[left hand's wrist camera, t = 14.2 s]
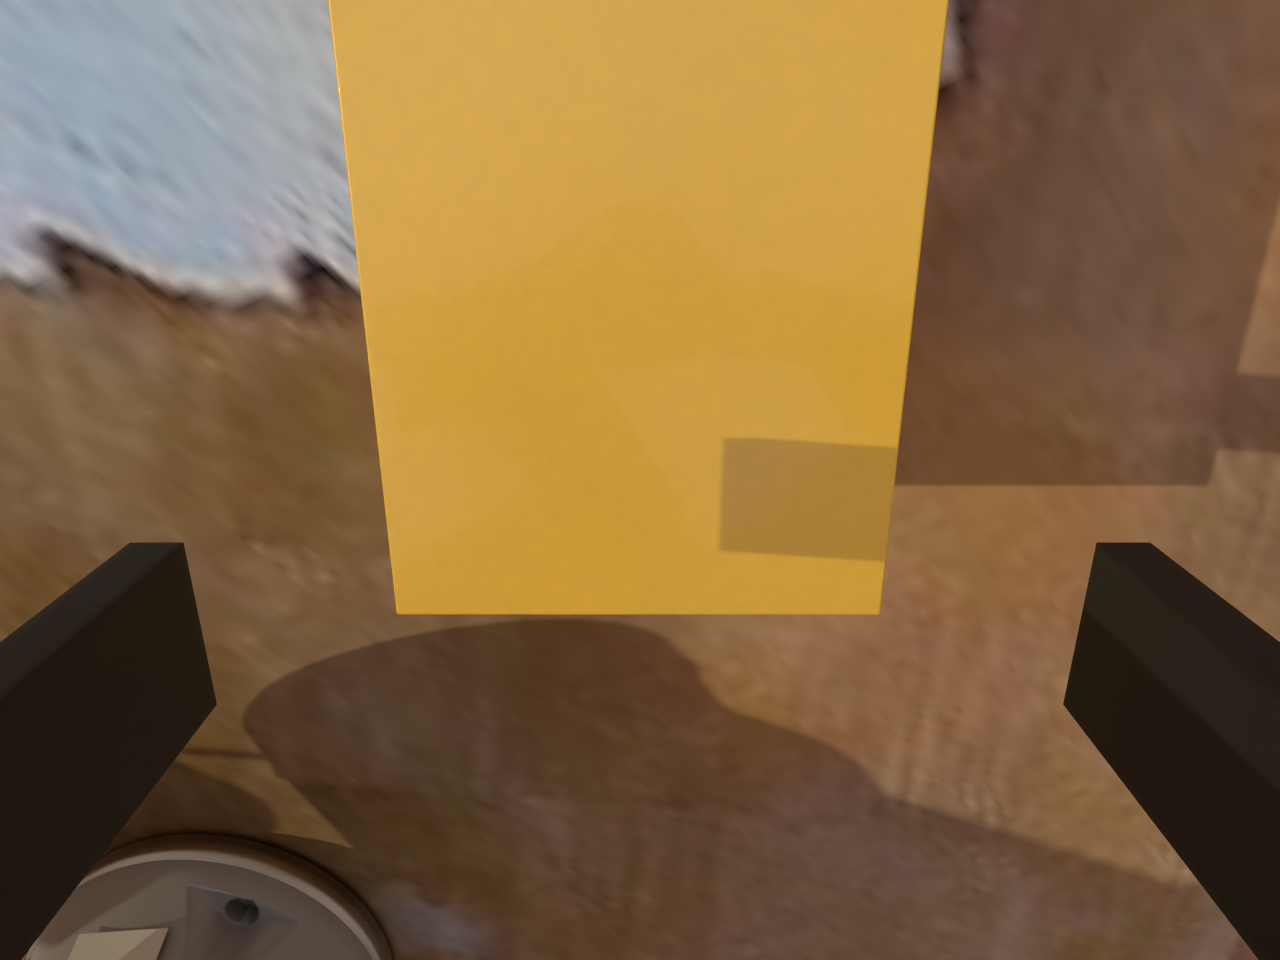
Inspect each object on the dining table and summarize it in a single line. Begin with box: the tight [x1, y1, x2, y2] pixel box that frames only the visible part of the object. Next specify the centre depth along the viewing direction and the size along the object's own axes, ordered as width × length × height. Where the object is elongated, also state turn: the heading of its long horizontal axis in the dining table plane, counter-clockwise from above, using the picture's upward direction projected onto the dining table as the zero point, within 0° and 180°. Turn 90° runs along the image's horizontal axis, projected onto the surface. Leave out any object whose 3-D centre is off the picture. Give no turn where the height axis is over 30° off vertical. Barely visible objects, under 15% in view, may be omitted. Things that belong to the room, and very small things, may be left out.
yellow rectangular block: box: [328, 0, 949, 615], centre depth 22 cm, size 22×11×11 cm, turn 0°
